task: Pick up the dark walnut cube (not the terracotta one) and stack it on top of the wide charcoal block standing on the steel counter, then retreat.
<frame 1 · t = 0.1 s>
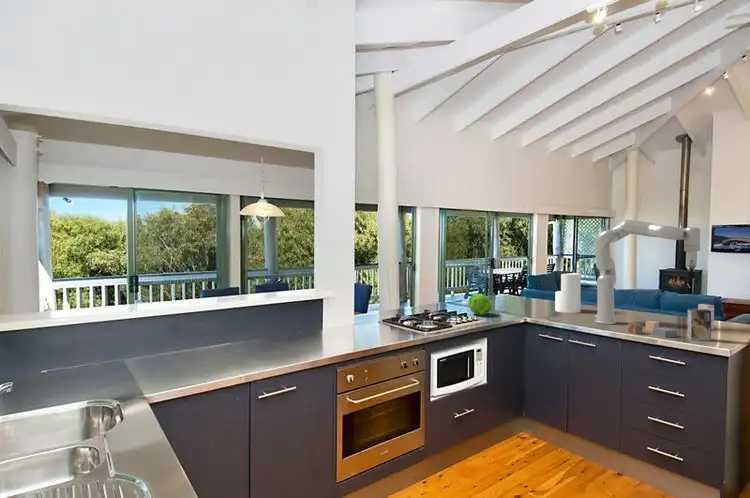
hand: (691, 277, 258), 31 cm above the worktop, fingers open, 9 cm apart
syrup box: (705, 328, 266), on the worktop
cylinder: (567, 311, 331), on the worktop
walnut cube: (635, 332, 255), on the worktop
coffee box: (699, 339, 239), on the worktop
lettuce: (480, 314, 318), on the worktop
terracotta cube: (652, 330, 262), on the worktop
base block: (664, 336, 248), on the worktop
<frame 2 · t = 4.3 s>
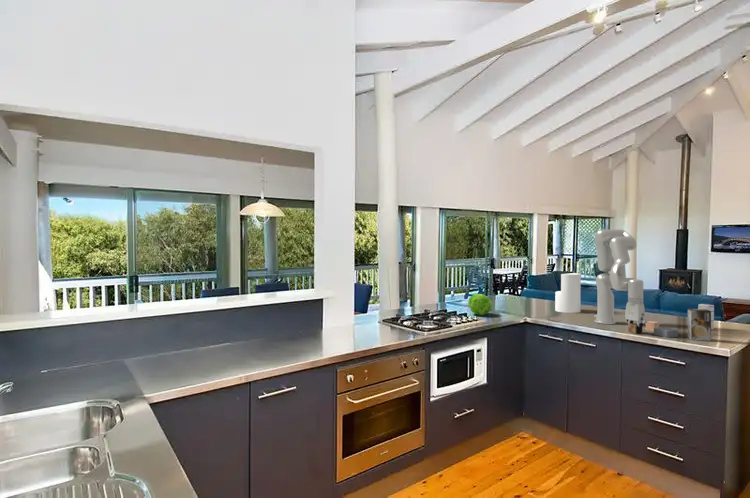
hand: (635, 331, 255), 0 cm above the worktop, fingers closed on walnut cube, 5 cm apart
walnut cube: (635, 332, 255), on the worktop, touching gripper
everything else where it was.
when the fingers open (6 cm above the worktop, at t = 8.6 s): walnut cube drops 2 cm, resting on base block.
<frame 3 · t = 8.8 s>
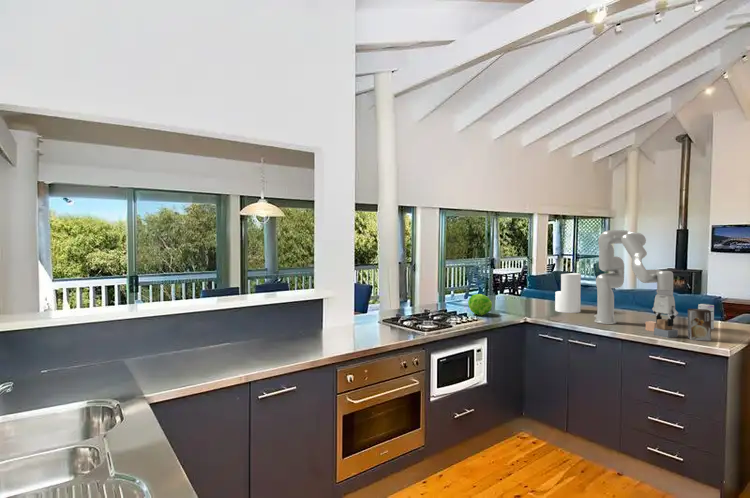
hand: (664, 324, 248), 6 cm above the worktop, fingers open, 6 cm apart
walnut cube: (664, 329, 248), point 4 cm above the worktop, touching base block
base block: (665, 336, 248), on the worktop, touching walnut cube
everything else where it was.
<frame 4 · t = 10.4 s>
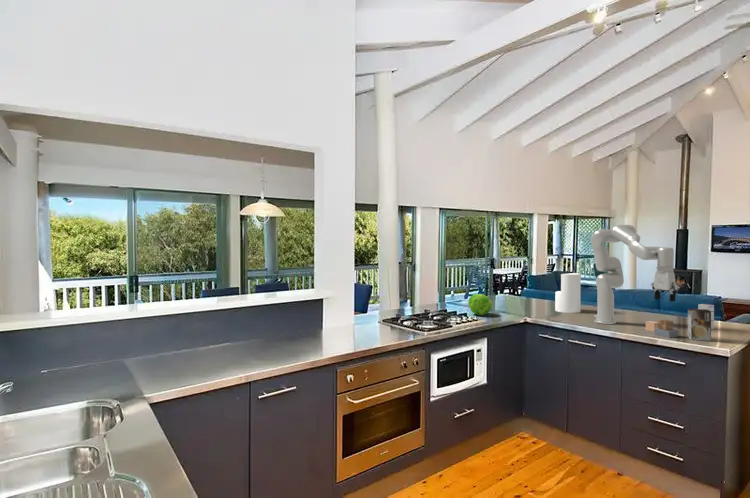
hand: (664, 300, 248), 20 cm above the worktop, fingers open, 9 cm apart
nothing on the worktop moved.
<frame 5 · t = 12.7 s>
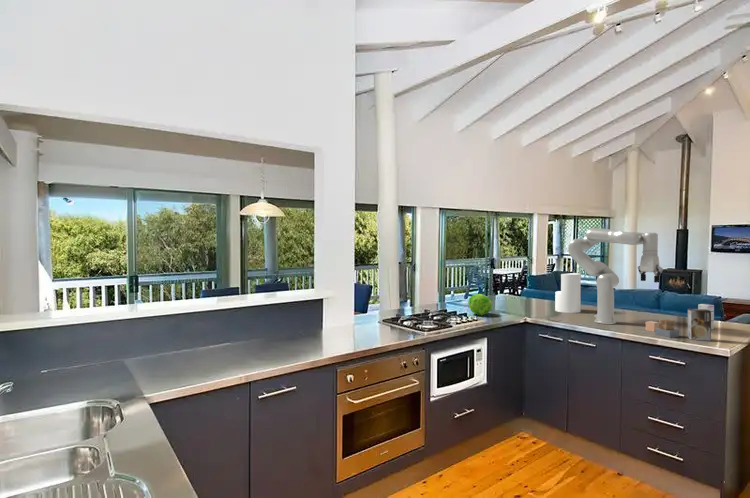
hand: (649, 281, 267), 28 cm above the worktop, fingers open, 9 cm apart
walnut cube: (666, 329, 248), point 4 cm above the worktop
base block: (667, 336, 248), on the worktop
everything else where it was.
at the end: walnut cube 0.4 cm off-centre on the base block, point 4.0 cm above the base block's base; walnut cube tilted 0°; terracotta cube moved 0.1 cm from its start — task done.
